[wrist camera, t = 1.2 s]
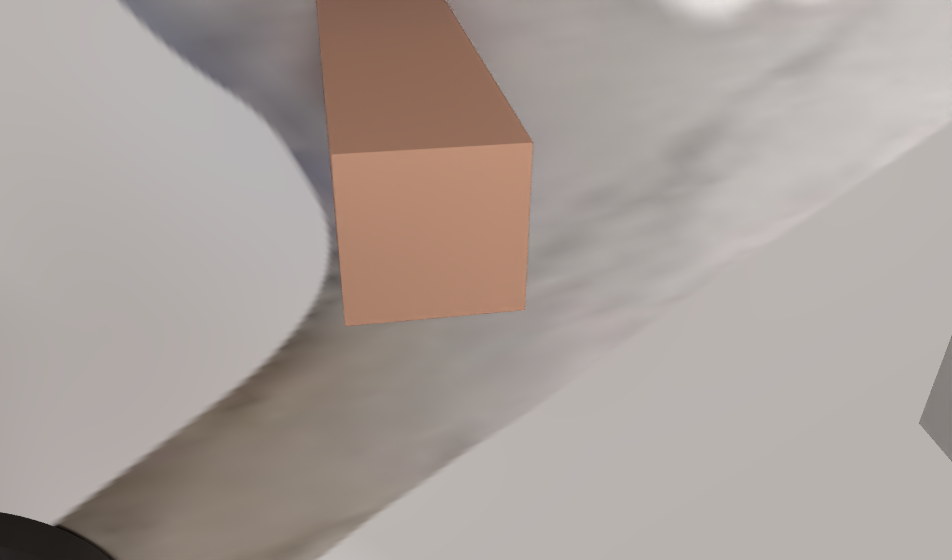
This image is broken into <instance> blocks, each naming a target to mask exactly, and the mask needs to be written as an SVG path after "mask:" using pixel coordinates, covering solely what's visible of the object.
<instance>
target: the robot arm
mask: <svg viewBox="0 0 952 560" xmlns="http://www.w3.org/2000/svg"><path fill="white" fill-rule="evenodd" d="M919 424H920V425H921V426H922V427H923V428H924V430H925V431H926V432H927V433H928V434H929V435H930V437H931V438H932V439H933V440H934V441H935V442H936V444H937V445H938V446H939V447H940V448H941V449H942V451H944V453H945V454H946V455H947V456H948V458H949V459H950V460H951V461H952V337H951V339H950V342H949V345H948V347H947V350H946V353H945V355H944V358H943V361H942V363H941V366H940V369H939V371H938V374H937V376H936V379H935V382H934V384H933V387H932V390H931V393H930V395H929V398H928V400H927V403H926V406H925V408H924V411H923V414H922V416H921V419H920V422H919ZM0 560H111V559H110V558H108V557H107V556H106V555H105V554H103V553H102V552H101V551H99V550H98V549H96V548H95V547H94V546H92V545H90V544H89V543H87V542H85V541H84V540H82V539H80V538H78V537H76V536H74V535H72V534H70V533H68V532H66V531H64V530H61V529H59V528H56V527H54V526H51V525H48V524H45V523H42V522H39V521H36V520H32V519H29V518H25V517H21V516H17V515H12V514H7V513H1V512H0Z"/></svg>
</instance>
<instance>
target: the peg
mask: <svg viewBox="0 0 952 560" xmlns="http://www.w3.org/2000/svg"><path fill="white" fill-rule="evenodd" d="M316 4H317V16H318V28H319V40H320V52H321V65H322V77H323V89H324V101H325V113H326V123H327V134H328V145H329V156H330V167H331V178H332V189H333V200H334V211H335V221H336V232H337V243H338V254H339V265H340V276H341V287H342V298H343V309H344V320H345V326H354V325H365V324H376V323H387V322H398V321H409V320H420V319H431V318H442V317H453V316H464V315H476V314H487V313H498V312H509V311H520V310H525V300H526V279H527V258H528V237H529V216H530V195H531V174H532V153H533V142H532V140H531V139H530V137H529V135H528V134H527V132H526V130H525V129H524V127H523V126H522V124H521V122H520V121H519V119H518V117H517V116H516V114H515V113H514V111H513V109H512V108H511V106H510V105H509V103H508V101H507V100H506V98H505V96H504V95H503V93H502V92H501V90H500V88H499V87H498V85H497V83H496V82H495V80H494V79H493V77H492V75H491V74H490V72H489V71H488V69H487V67H486V66H485V64H484V62H483V61H482V59H481V58H480V56H479V54H478V53H477V51H476V49H475V48H474V46H473V45H472V43H471V41H470V40H469V38H468V37H467V35H466V33H465V32H464V30H463V28H462V27H461V25H460V24H459V22H458V20H457V19H456V17H455V16H454V14H453V12H452V11H451V9H450V7H449V6H448V4H447V3H446V1H445V0H316Z"/></svg>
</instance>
